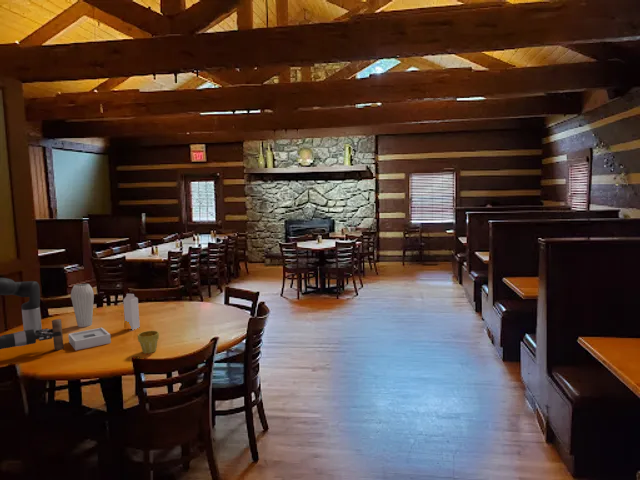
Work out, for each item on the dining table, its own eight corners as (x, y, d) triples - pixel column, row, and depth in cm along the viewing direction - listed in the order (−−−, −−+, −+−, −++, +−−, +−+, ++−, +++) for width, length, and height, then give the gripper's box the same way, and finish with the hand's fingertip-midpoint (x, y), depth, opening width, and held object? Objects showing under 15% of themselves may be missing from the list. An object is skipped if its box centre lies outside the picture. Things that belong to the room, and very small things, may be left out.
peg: (54, 348, 259) (52, 319, 257) (64, 347, 260) (61, 318, 259) (53, 350, 255) (51, 321, 253) (63, 349, 256) (60, 320, 255)
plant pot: (142, 356, 242) (140, 337, 241) (136, 351, 250) (135, 333, 249) (162, 351, 248) (161, 333, 247) (156, 346, 256) (155, 329, 255)
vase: (68, 328, 298) (64, 287, 295) (83, 322, 311) (80, 282, 308) (86, 328, 294) (82, 287, 292) (101, 322, 307) (97, 283, 305)
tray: (69, 342, 268) (68, 333, 268) (102, 335, 279) (102, 327, 279) (75, 350, 254) (74, 341, 254) (110, 342, 265) (110, 334, 265)
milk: (132, 327, 296) (130, 292, 294) (140, 327, 294) (137, 292, 292) (125, 329, 290) (122, 294, 288) (133, 330, 288) (130, 295, 286)
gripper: (25, 334, 241) (61, 327, 251) (22, 328, 252) (56, 322, 262) (26, 348, 242) (62, 341, 252) (23, 341, 253) (57, 335, 263)
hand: (59, 331), depth 257 cm, fingers open, 8 cm apart
